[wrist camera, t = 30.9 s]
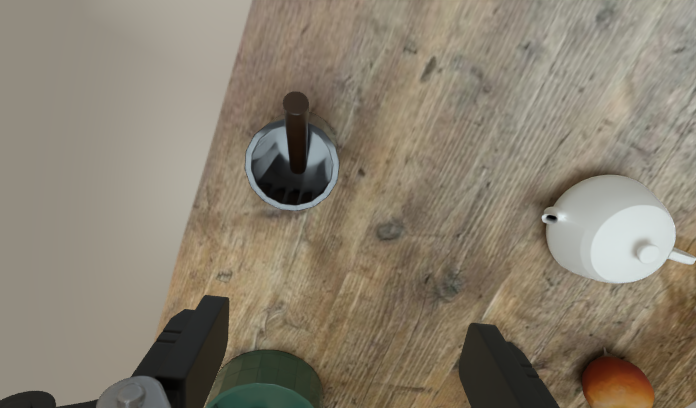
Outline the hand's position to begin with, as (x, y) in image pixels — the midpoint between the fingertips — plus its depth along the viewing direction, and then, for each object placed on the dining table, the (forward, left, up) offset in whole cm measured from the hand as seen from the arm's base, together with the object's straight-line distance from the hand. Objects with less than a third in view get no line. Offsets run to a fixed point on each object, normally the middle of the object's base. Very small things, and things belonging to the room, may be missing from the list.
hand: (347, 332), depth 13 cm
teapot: (+31, -4, -33) cm, 45 cm away
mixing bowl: (-5, -35, -32) cm, 48 cm away
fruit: (+41, -26, -33) cm, 58 cm away
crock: (-4, 0, -32) cm, 33 cm away
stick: (-4, -2, -31) cm, 31 cm away
